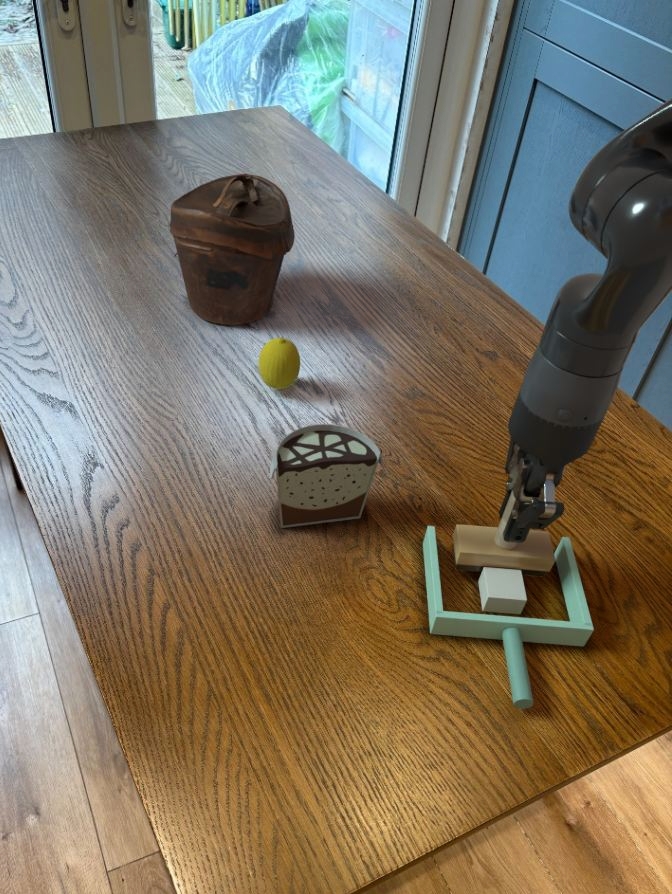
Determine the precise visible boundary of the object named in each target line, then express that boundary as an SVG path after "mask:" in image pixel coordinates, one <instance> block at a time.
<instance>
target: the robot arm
mask: <svg viewBox="0 0 672 894" xmlns="http://www.w3.org/2000/svg"><path fill="white" fill-rule="evenodd" d="M568 216H569V219H570V222H571V224H572V226H573V227H574V229H575V230H576V231H577V233H579V235H581V236H582V237H583V238H584V239H585V240H586V241H587V242H588V243H589V244H590V245H591V246H593V247H594V249H595V250H597V251H598V252H599V254H601V255H602V256H603V257H604V258H605V259H606V265H605V269H604V271H603V273H598V272H597V273H596V272H587V273H581V274H578V275H575V276H572V277H570V278H569V279H567V280H566V281H565V282H564V283H563V284H562V286H561V287H560V288H559V290H558V292H557V294H556V296H555V299H554V300H553V302H552V306H551V308H550V311H549V314H548V316H547V319H546V322H545V325H544V327H543V330H542V334H541V336H540V340H539V342H538V344H537V346H536V348H535V350H534V351H533V354H532V356H531V358H530V360H529V363H528V364H527V368H526V370H525V373H524V375H523V378H522V382H521V385H520V388H519V390H518V392H517V396H516V399H515V402H514V405H513V408H512V411H511V412H510V415H509V416H510V417H509V419H508V423H507V429H508V434H509V436H510V439H509V445H508V450H507V454H506V455H507V456H506V462H505V465H504V472H505V473H504V474H506V475H508V477H507V479H506V482H505V489H506V493H505V495H504V497H503V501H502V503H501V505H500V509H499V512H498V516H499V519H500V520H501V519H502V516H503V514H504V511H505V508H506V506H507V503H508V501H509V498H510V495H511V493H512V491H513V494H514V497H515V502H514V505H513V508H512V511H511V514H510V517H509V519H508V522H507V524H506V527H505V529H504V532H503V538H504V541H506V542H517V543H523V542H524V541H525V540H526V537H527V535H528V533H529V531H530V530H540V531H544V530H545V529H547V527H549V526H550V525H552V524H553V523H554V522H555V521H557V520H558V519H559V518H560V517H562V516H563V515H564V512H565V504H564V502H562V501H558V500H556V492H555V491H556V488H557V487H559V485H560V484H561V482H562V479H563V477H564V474H565V471H566V466H567V465H569V464H570V463H572V462H574V461H576V460H579V459H580V458H583V456H585V455H586V454H587V453H588V452H589V451H590V449H591V447H592V445H593V443H594V440H595V439H596V436H597V434H598V432H599V430H600V428H601V425H602V423H603V422H604V418H605V417H606V414H607V412H608V410H609V408H610V406H611V404H612V402H613V400H614V397H615V395H616V393H617V391H618V388H619V384H620V382H621V378H622V373H623V371H624V368H625V366H626V363H627V361H628V359H629V357H630V355H631V353H632V351H633V348H634V346H635V344H636V341H637V339H638V337H639V335H640V333H641V330H642V328H643V326H644V325H646V323H647V321H648V320H650V318H651V317H652V315H653V314H654V313H655V312H656V311H657V310H658V309H659V307H660V306H661V305H662V304H663V303H664V302H665V300H666V299H667V298H668V297H669V296H670V294H671V293H672V97H671V98H669V99H668V100H666V101H665V102H664V103H662V104H660V105H659V106H658V107H656V108H655V109H653V110H652V111H650V112H648V114H646V115H645V116H643V117H642V118H641V119H639V120H638V121H636V122H634V123H633V124H632V125H631V126H629V127H627V128H626V129H624V130H623V131H622V132H620V133H618V134H617V135H616V136H615V137H613V138H612V139H611V140H610V141H609V142H607V143H606V144H604V145H603V147H601V148H600V149H599V150H598V151H597V152H596V153H595V154H594V155H593V156H592V158H591V159H590V160H589V161H588V162H587V163H586V165H585V166H584V167H583V169H582V170H581V172H580V173H579V175H578V177H577V179H576V180H575V183H574V185H573V187H572V190H571V193H570V196H569V201H568ZM525 503H531V504H530V505H529V506H528V507H523V505H524V504H525Z"/></svg>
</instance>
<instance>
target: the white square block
mask: <svg viewBox="0 0 672 894" xmlns="http://www.w3.org/2000/svg"><path fill="white" fill-rule="evenodd" d="M480 573H481V574H480V576H479V578H478V581H477V583H478V589H479V597H480V603H481V604H480V605H481V610H482V612H487V613H498V614H499V613H500V614H501V613H502V614H512V615H521V614H522V612H523V610H524V609H525V606H526V604H527V602H528V597H527V592H526V588H525V583H524V578H523V575H522V572H521V570H514V569H502V568H490V567H484V568H483V570H482V572H480Z"/></svg>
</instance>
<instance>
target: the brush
mask: <svg viewBox="0 0 672 894" xmlns="http://www.w3.org/2000/svg"><path fill="white" fill-rule="evenodd" d="M514 502H515V497H514V494H513V491H512V493H511V495H510V498H509V501H508V503H507V506H506V508H505V511H504V514H503V516H502V519H500V521H499V524H498V527H497V526H485V525H484V526H483V525H472V524H470V525H469V524H458V523H457V524H456V525H455V529H454V530H453V534H452V541H453V542H452V554H453V563H454V570H456V571H464V572H465V571H467V572H478V573H479V572H480V573H482V570H483V568H484V567H490V568H502V569H514V570H521V572H522V576H529V577H540V578H544V577H545V576H546V574H547V572H551V570H552V568H553V566H554V564H555V563H556V559H555V555H554V553H555V551H554V547H553V543H552V539H551V535H550V531H548V530H547V531H546V530H537V529H530V531H529V533H528V535H527V537H526V540H525V541H524V542H523V543H517V542H506V541H504V538H503V532H504V529H505V527H506V524H507V522H508V519H509V517H510V514H511V511H512V508H513V505H514ZM530 504H531V503H525V504H524V505H523V507H528V506H529V505H530Z"/></svg>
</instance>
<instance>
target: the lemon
mask: <svg viewBox="0 0 672 894" xmlns="http://www.w3.org/2000/svg"><path fill="white" fill-rule="evenodd" d="M300 369H301V357H300V352H299V350H298V347H297V346H296V345H295V343H294V342H293V341H291V340H290V339H288V338H284V337H276V338H275V337H274V338H272V339H270V340H269V341H267V342H266V343H265V344H264V345H263V347H262V348H261V351H260V354H259V356H258V373H259V376H260V378H261V380H262V381H263V383H264V384H265V385H266V386H268V387H269V388H272V389H274V390H275V389H276V390H283V389H287V388H289V387H290V386H292V385H293V384H294V383H295V382H296V380H297V379H298V377H299V375H300V371H301V370H300Z"/></svg>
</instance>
